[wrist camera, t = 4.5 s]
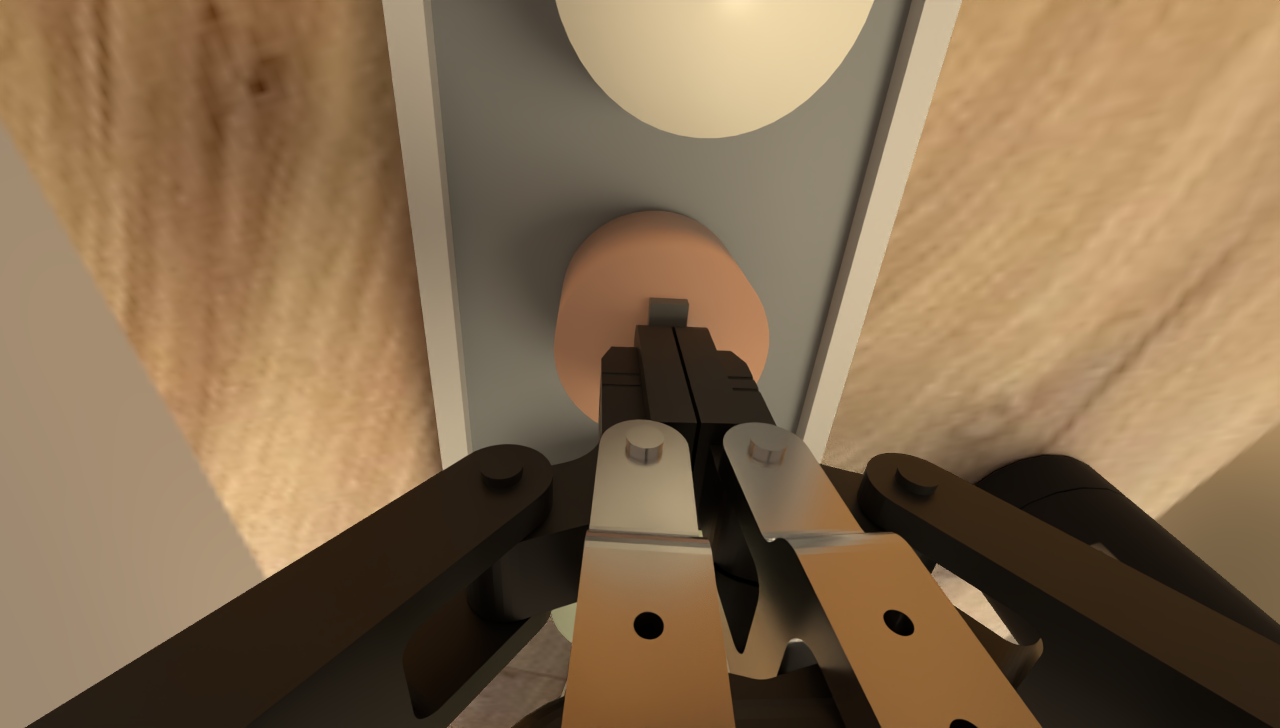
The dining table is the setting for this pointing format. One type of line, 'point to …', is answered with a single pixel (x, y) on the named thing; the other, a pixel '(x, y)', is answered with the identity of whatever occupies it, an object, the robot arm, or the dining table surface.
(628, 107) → the cream key
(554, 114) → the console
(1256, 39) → the dining table surface
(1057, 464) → the black bottle
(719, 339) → the terracotta key
